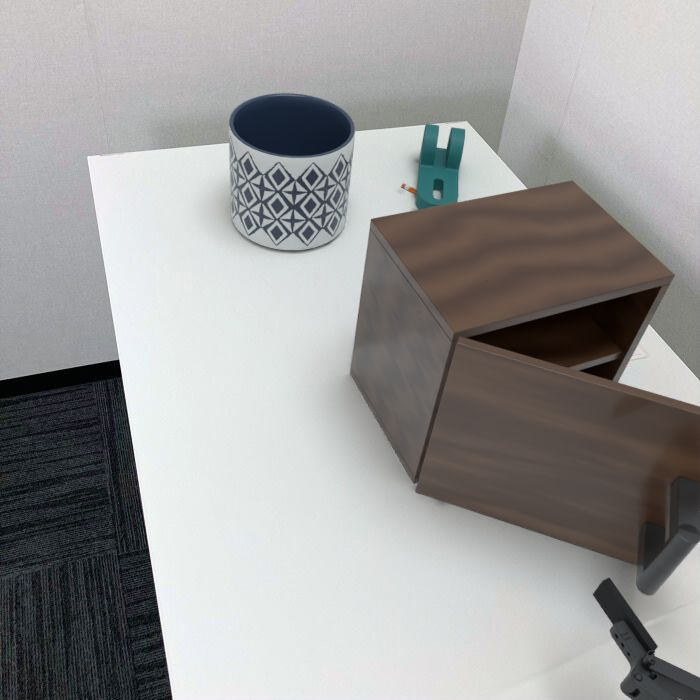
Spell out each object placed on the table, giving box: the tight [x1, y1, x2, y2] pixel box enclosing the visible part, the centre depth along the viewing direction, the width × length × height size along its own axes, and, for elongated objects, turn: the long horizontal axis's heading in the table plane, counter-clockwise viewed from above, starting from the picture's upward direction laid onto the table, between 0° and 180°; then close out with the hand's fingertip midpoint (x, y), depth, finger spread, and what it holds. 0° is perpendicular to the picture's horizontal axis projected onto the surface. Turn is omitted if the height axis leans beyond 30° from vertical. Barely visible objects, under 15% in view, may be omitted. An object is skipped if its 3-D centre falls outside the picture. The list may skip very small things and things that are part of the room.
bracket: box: [415, 123, 466, 210], centre depth 124 cm, size 18×7×8 cm, turn 174°
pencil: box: [401, 183, 417, 195], centre depth 123 cm, size 1×18×1 cm, turn 53°
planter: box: [228, 92, 356, 251], centre depth 111 cm, size 18×18×16 cm
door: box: [415, 336, 700, 597], centre depth 70 cm, size 8×26×24 cm, turn 72°
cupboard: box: [349, 179, 676, 484], centre depth 85 cm, size 18×26×24 cm
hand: (659, 560), depth 67 cm, fingers open, 13 cm apart
